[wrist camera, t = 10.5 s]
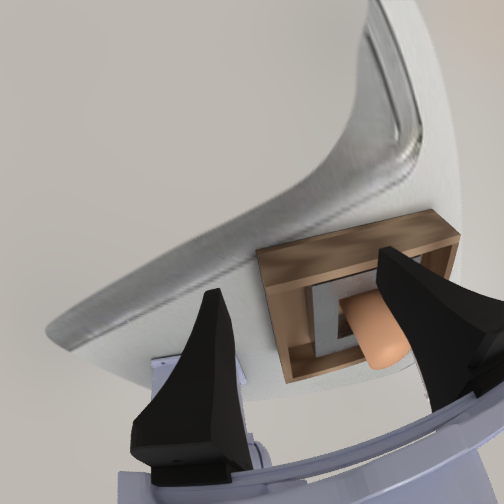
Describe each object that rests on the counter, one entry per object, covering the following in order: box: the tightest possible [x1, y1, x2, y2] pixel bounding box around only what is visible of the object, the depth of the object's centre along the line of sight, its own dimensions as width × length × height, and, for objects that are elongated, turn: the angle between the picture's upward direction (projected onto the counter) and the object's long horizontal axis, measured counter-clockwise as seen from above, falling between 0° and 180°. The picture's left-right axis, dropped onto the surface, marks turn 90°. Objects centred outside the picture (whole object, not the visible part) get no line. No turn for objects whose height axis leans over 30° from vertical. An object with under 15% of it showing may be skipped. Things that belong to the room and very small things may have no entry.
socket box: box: [256, 209, 461, 384], centre depth 27 cm, size 17×14×4 cm
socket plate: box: [304, 255, 421, 358], centre depth 27 cm, size 10×10×3 cm
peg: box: [339, 288, 411, 370], centre depth 25 cm, size 4×4×8 cm
